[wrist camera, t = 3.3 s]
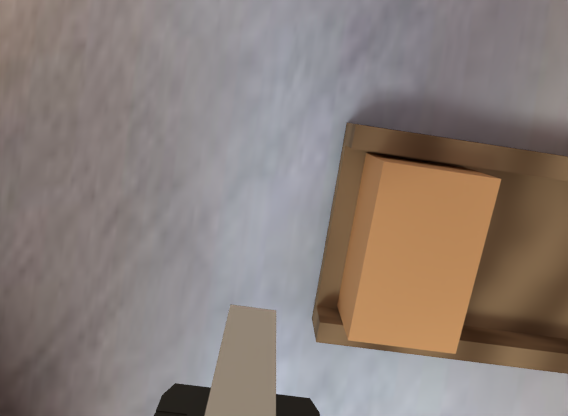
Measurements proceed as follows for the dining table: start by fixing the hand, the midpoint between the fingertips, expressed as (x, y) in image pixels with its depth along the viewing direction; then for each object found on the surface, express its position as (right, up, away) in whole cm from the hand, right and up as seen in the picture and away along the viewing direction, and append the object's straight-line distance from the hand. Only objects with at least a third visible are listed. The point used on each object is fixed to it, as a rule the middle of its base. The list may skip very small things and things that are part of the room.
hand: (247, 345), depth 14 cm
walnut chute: (+15, +2, +18) cm, 24 cm away
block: (+9, +2, +17) cm, 20 cm away
